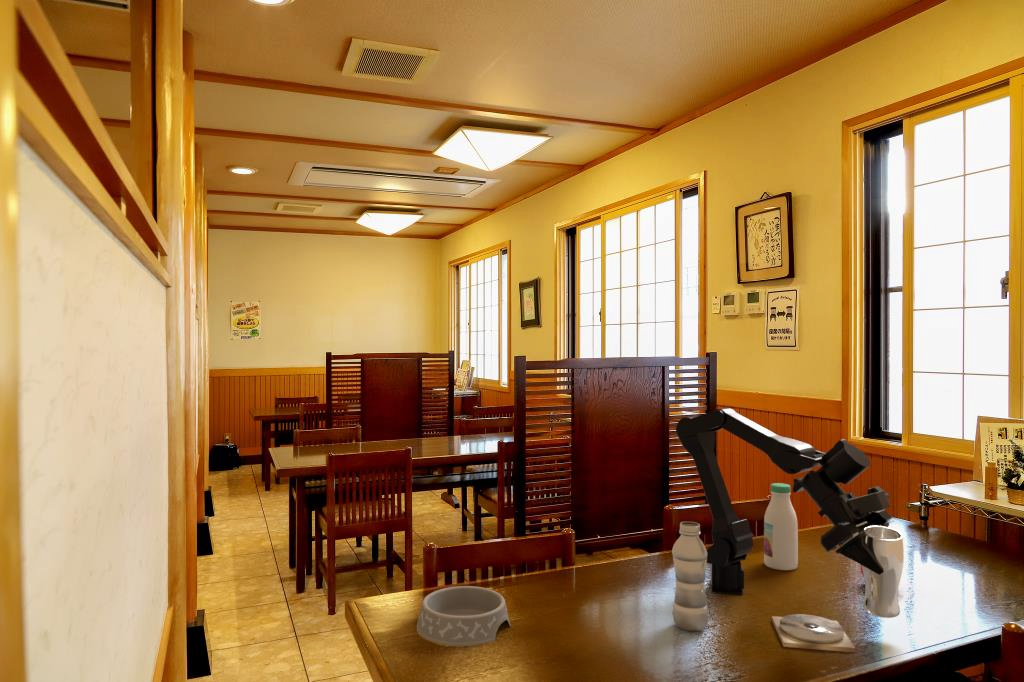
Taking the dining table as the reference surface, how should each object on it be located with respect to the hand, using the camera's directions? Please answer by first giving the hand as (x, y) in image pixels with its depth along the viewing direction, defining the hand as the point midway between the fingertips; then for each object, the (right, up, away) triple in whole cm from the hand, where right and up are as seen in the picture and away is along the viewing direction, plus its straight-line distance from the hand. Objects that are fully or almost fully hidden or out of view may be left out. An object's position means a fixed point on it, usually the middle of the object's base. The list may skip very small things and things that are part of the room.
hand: (889, 569), depth 126 cm
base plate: (-13, -13, +2) cm, 19 cm away
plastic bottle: (-35, -13, +6) cm, 38 cm away
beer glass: (0, -8, +2) cm, 9 cm away
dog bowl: (-79, -14, +7) cm, 80 cm away
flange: (-13, -13, +2) cm, 19 cm away
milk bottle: (-3, -14, +42) cm, 44 cm away
